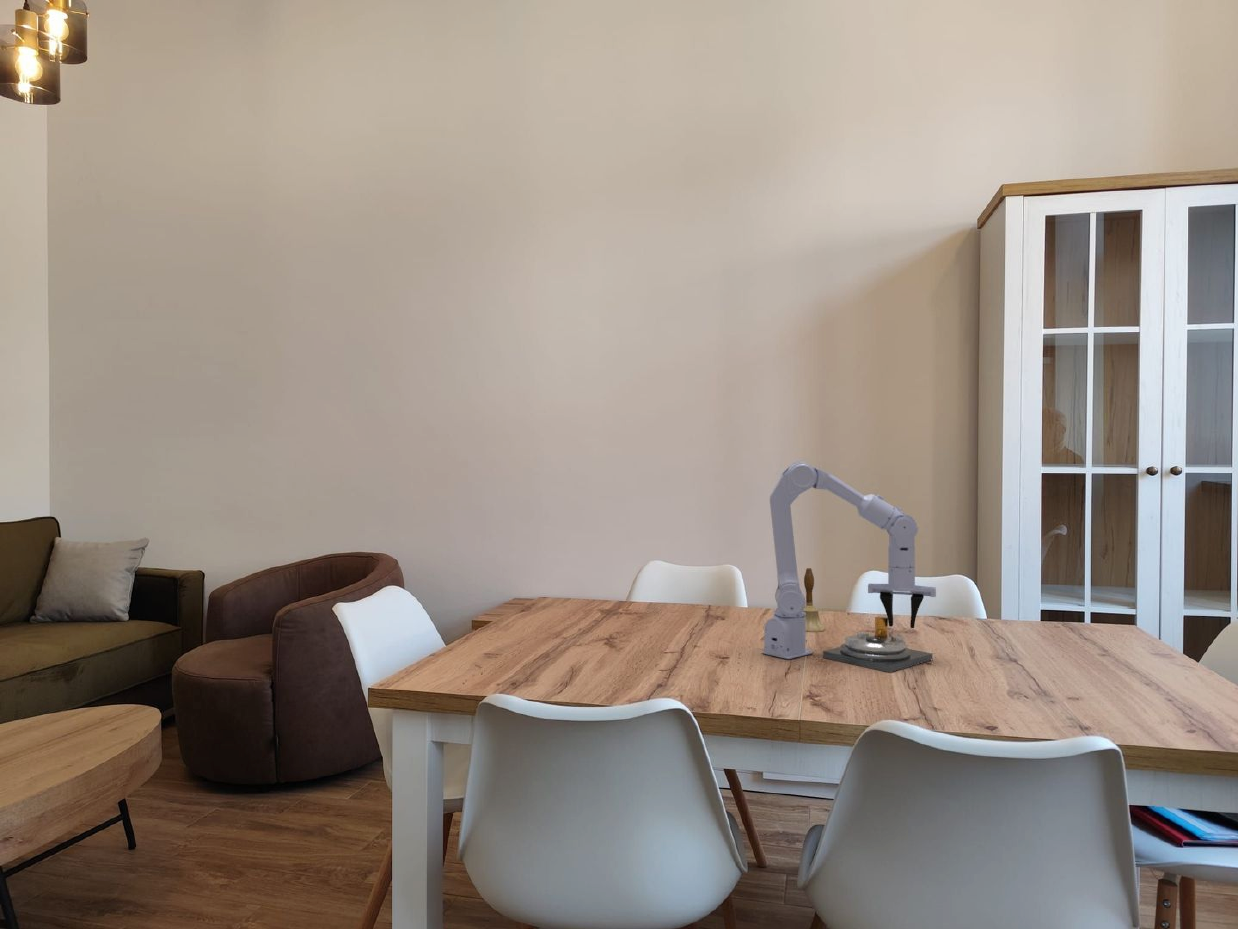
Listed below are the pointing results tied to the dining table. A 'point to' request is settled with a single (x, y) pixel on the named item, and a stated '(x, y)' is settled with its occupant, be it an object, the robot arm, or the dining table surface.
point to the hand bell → (811, 605)
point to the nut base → (878, 658)
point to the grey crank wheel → (876, 640)
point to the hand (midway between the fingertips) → (901, 626)
